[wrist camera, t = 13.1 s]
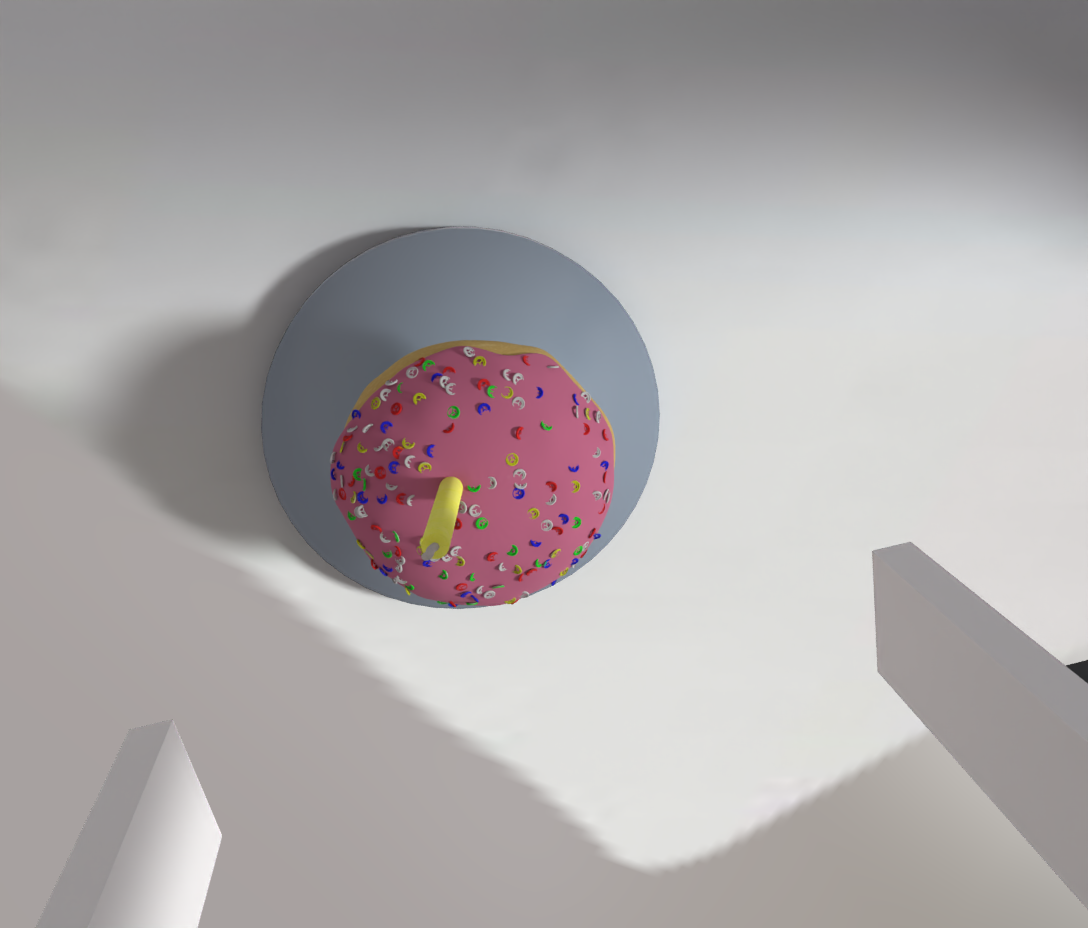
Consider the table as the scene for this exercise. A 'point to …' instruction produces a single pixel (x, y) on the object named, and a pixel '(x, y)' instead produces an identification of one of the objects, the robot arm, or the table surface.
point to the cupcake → (474, 472)
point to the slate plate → (436, 317)
